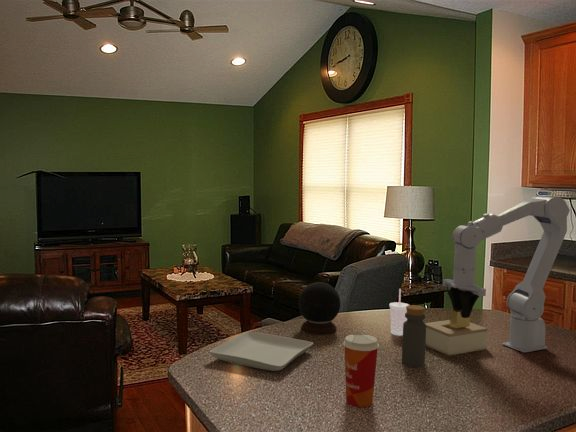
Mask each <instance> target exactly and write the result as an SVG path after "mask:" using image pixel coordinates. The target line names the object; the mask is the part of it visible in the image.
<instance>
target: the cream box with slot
mask: <svg viewBox="0 0 576 432" xmlns="http://www.w3.org/2000/svg"><path fill="white" fill-rule="evenodd" d="M424 323H425V322H424ZM425 324H426V346H425V347H428V348H431V349H433V350H434V351H437V352H440V353H442V354H444V355H446V356H453V355H454V356H456V355H459V354H460V355H461V354H466V353H467V354H468V353H471V352H477V351H483V350H487V348H488V347H487V343H488V328H487V327H484V326H482V325H479V324H475V323H473V322H471V321H470V326H467V327H461V328H455V327H452V326H450V319H447V320H439V321H431V322H426V323H425Z"/></svg>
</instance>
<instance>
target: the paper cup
mask: <svg viewBox="0 0 576 432" xmlns="http://www.w3.org/2000/svg"><path fill="white" fill-rule="evenodd" d="M342 345H343V347H344V369H345V370H344V371H345V372H344V374H345V375H344V376H345V377H344V378H345V399H346V404H348V405H349V406H351V407H353V408H354V407H355V408H367V407H370V406H372V405H373V400H374V399H373V398H374V392H375V391H374V390H375V382H376V381H375V379H376V370H377V368H376V367H377V359H378V358H377V357H378V349H379V347H380V344H379V342H378V339H377V337H375V336H372V335H370V334H369V335H368V334H361V333H360V334H355V335H354V334H349V335H346V337H345V338H344V341H343V343H342Z"/></svg>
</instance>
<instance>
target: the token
mask: <svg viewBox="0 0 576 432" xmlns="http://www.w3.org/2000/svg"><path fill="white" fill-rule="evenodd" d="M449 315H450V316H449V317H450V318H449V320H450V326H452V327H455V328H461V327H467V326H470V322H471V316H470V317H469V318H463V316H462V308H459V309H453V308H452V309H450V314H449Z"/></svg>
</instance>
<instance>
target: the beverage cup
mask: <svg viewBox="0 0 576 432" xmlns="http://www.w3.org/2000/svg"><path fill="white" fill-rule="evenodd" d="M401 293H402V289H401V288H399V289H398V302H397V301H396V302H395V301H394V302H390V303H389V304H388V305H389V310H390V312H389V313H390V314H389V315H390V334H392V335H393V336H394V335H395V336H403V323H404V322H405V321H407V318H405V313H406V312H407V310H406V306H408V305H410V304H409V303H405V302H401V300H402V299H401V298H402V297H401V296H402V294H401Z"/></svg>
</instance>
